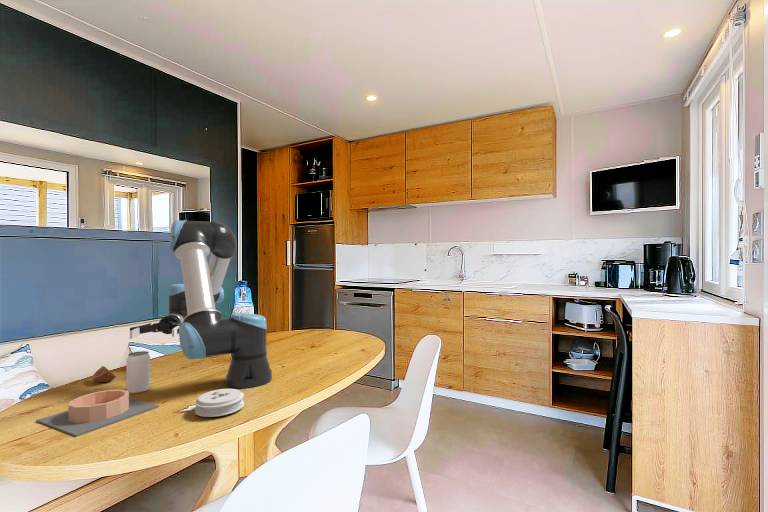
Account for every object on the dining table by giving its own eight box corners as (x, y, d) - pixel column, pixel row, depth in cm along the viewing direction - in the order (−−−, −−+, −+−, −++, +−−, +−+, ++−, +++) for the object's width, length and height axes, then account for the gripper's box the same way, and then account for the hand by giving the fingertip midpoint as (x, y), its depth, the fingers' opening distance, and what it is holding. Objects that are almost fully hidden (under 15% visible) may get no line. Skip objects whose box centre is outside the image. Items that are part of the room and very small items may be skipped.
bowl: (138, 407, 105) (138, 393, 105) (85, 426, 94) (85, 410, 94) (112, 400, 111) (112, 387, 111) (59, 417, 100) (59, 402, 100)
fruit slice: (118, 382, 130) (118, 368, 130) (94, 387, 125) (94, 372, 125) (113, 377, 136) (113, 363, 136) (90, 381, 131) (90, 367, 131)
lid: (193, 424, 96) (193, 404, 96) (196, 406, 108) (196, 389, 108) (245, 415, 101) (245, 396, 101) (243, 399, 113) (242, 382, 113)
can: (155, 388, 123) (154, 351, 123) (136, 394, 117) (136, 356, 117) (140, 386, 125) (140, 350, 126) (121, 392, 119) (121, 355, 119)
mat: (158, 406, 107) (158, 405, 107) (76, 436, 89) (76, 435, 89) (118, 396, 116) (118, 395, 116) (36, 421, 98) (36, 420, 98)
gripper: (203, 331, 158) (190, 342, 137) (137, 334, 152) (112, 346, 132) (203, 313, 158) (190, 321, 137) (137, 315, 152) (112, 325, 132)
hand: (152, 333), depth 135 cm, fingers open, 13 cm apart
